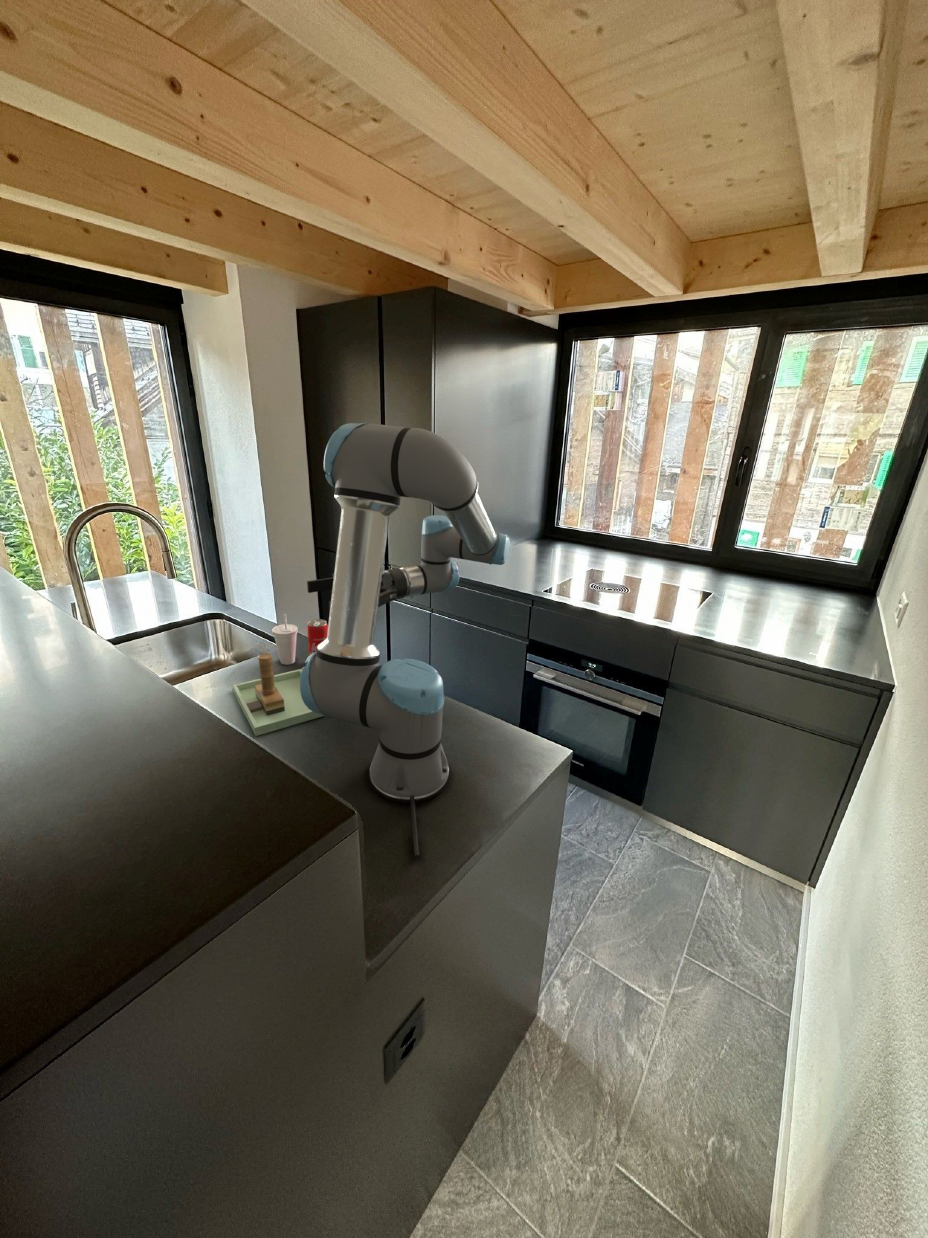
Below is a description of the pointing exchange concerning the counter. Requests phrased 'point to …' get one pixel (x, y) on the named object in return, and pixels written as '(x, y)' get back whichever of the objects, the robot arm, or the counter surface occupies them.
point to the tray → (292, 702)
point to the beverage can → (316, 633)
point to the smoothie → (285, 641)
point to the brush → (268, 687)
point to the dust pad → (254, 706)
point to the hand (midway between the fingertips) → (318, 596)
